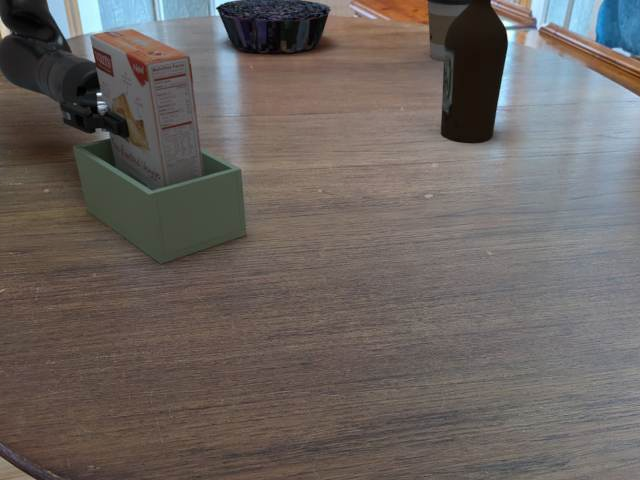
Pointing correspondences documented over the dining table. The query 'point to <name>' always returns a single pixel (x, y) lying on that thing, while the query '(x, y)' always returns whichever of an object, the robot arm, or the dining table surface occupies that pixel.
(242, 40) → the decorative bowl
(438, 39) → the coffee cup
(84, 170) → the bin
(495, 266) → the dining table surface
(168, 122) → the cracker box
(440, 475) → the dining table surface
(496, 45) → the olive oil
